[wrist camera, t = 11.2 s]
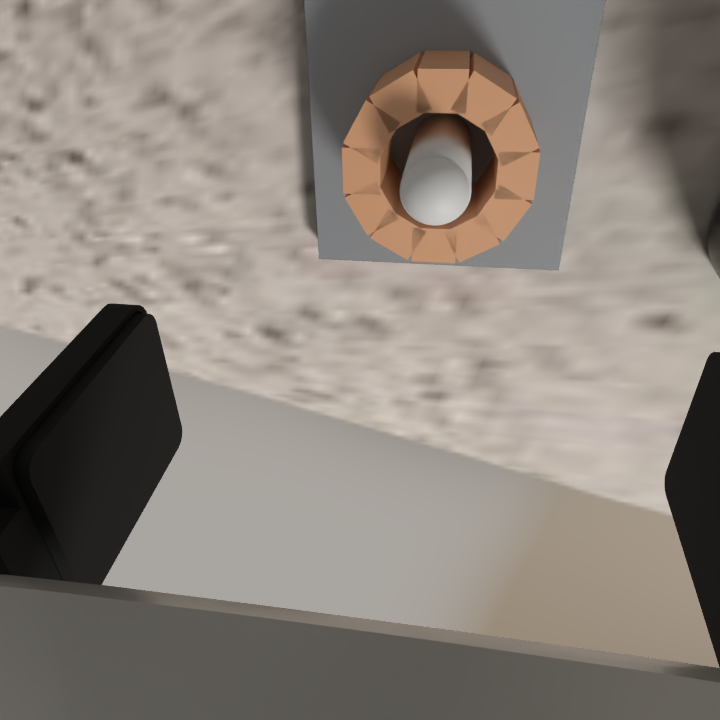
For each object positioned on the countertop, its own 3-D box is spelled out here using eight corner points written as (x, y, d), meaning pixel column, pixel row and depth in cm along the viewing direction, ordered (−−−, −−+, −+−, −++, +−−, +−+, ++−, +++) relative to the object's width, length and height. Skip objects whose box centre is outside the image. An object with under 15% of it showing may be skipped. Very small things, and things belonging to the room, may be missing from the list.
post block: (312, -13, 25) (249, 8, 18) (600, -16, 24) (653, 7, 17) (325, 245, 31) (281, 336, 24) (554, 256, 30) (580, 356, 23)
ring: (357, 49, 25) (339, 68, 21) (541, 50, 24) (552, 69, 21) (360, 221, 29) (345, 258, 25) (518, 227, 28) (524, 266, 24)
